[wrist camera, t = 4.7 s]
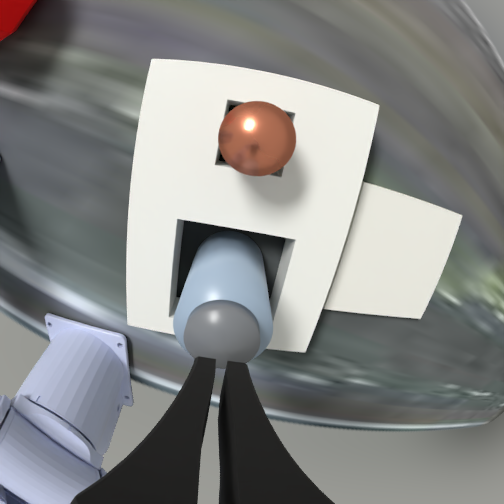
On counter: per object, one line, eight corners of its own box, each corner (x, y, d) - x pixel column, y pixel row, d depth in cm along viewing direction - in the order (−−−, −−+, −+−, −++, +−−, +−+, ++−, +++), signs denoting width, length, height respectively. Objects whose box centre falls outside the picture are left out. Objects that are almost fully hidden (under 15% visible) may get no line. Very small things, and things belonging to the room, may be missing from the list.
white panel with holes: (299, 330, 21) (305, 352, 19) (138, 304, 20) (127, 324, 18) (362, 108, 15) (379, 105, 13) (164, 68, 14) (151, 58, 12)
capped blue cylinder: (255, 297, 20) (262, 382, 13) (191, 287, 20) (168, 368, 12) (269, 237, 18) (286, 306, 11) (199, 225, 18) (172, 288, 11)
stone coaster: (417, 314, 21) (420, 318, 21) (322, 304, 20) (324, 308, 20) (457, 213, 18) (462, 215, 17) (360, 180, 17) (364, 182, 16)
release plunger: (275, 170, 16) (287, 183, 12) (219, 160, 16) (211, 168, 12) (287, 116, 15) (303, 110, 11) (230, 105, 15) (226, 94, 11)
